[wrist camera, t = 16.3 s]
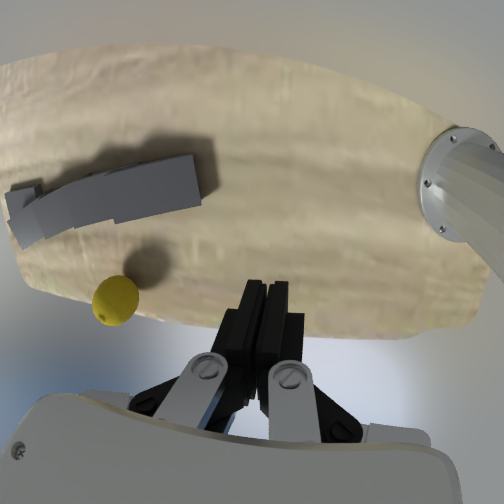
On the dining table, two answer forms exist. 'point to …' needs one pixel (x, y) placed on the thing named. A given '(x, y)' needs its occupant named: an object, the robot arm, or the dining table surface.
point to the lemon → (115, 300)
